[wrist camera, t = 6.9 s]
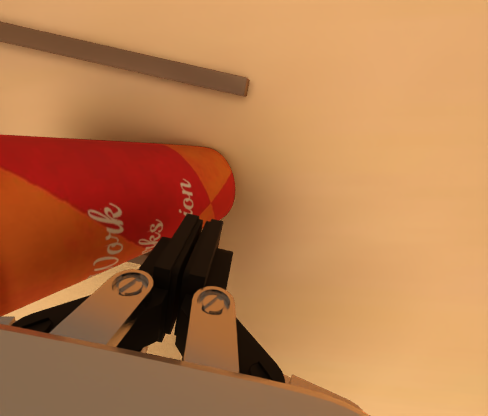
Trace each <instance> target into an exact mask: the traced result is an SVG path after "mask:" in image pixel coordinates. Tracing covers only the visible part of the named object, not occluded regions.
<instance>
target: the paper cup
mask: <svg viewBox="0 0 488 416" xmlns="http://www.w3.org/2000/svg"><path fill="white" fill-rule="evenodd" d="M234 197H235V182H234V177H233V173H232V170H231V168H230V166H229V164H228V162H227V161H226V160H225V158H224V157H223V156H222V155H221V154H220V153H219V152H217V151H215V150H213V149H211V148H207V147H199V146H187V145H173V144H157V143H140V142H123V141H105V140H87V139H69V138H51V137H33V136H15V135H0V317H1V316H3V315H5V314H8V313H10V312H12V311H14V310H17V309H19V308H21V307H24V306H26V305H28V304H30V303H33V302H35V301H37V300H40V299H42V298H44V297H47V296H49V295H51V294H53V293H56V292H58V291H60V290H63V289H65V288H67V287H69V286H72V285H74V284H76V283H79V282H81V281H83V280H85V279H88V278H90V277H92V276H95V275H97V274H99V273H101V272H104V271H106V270H108V269H111V268H113V267H115V266H118V265H120V264H122V263H124V262H127V261H129V260H131V259H134V258H136V257H138V256H140V255H143V254H145V253H147V252H150V251H152V250H153V248H154V247H155V245H156V244H157V243H158V241H159V240H160V238H161V237H168V238H172V237H173V235H174V233H175V232H176V230H177V229H178V227H179V226H180V224H181V222H182V221H183V219H184V218H185V216H186V214H187V213H188V214H193V215H197V216H199V219H201V220H203V225H202V228H203V227H204V225H205V223H206V221H211V219H215V220H220V219H222V218H223V217H224V216H226V215H227V214H228V212H229V211H230V209H231V207H232V205H233V202H234Z"/></svg>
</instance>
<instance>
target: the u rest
mask: <svg viewBox="0 0 488 416" xmlns="http://www.w3.org/2000/svg"><path fill="white" fill-rule="evenodd" d="M0 41H1V42H5V43H10V44H14V45H19V46H23V47H27V48H32V49H36V50H41V51H45V52H50V53H54V54H58V55H63V56H67V57H72V58H76V59H81V60H85V61H89V62H94V63H98V64H103V65H107V66H112V67H116V68H121V69H125V70H129V71H134V72H138V73H143V74H147V75H152V76H156V77H160V78H165V79H169V80H174V81H178V82H183V83H187V84H192V85H196V86H200V87H205V88H209V89H214V90H218V91H223V92H227V93H231V94H236V95H240V96H247V91H248V86H249V81H250V80H249V79H248V78H246V77H241V76H237V75H232V74H228V73H224V72H219V71H215V70H210V69H206V68H202V67H197V66H193V65H188V64H184V63H180V62H175V61H171V60H166V59H162V58H158V57H153V56H149V55H144V54H140V53H136V52H131V51H127V50H122V49H118V48H114V47H109V46H105V45H100V44H96V43H92V42H87V41H83V40H78V39H74V38H70V37H65V36H61V35H56V34H52V33H48V32H43V31H39V30H34V29H30V28H26V27H21V26H17V25H12V24H8V23H4V22H0ZM150 253H151V251H150V252H147V253H145V254H143V255H140V256H138V257H136V258H134V259H131V260H129V261H127V262H132V263H137V264H141V265H142V264H143V262H144V261H145V260H146V258H147V257H148V255H149V254H150Z"/></svg>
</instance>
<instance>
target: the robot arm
mask: <svg viewBox="0 0 488 416" xmlns="http://www.w3.org/2000/svg"><path fill="white" fill-rule="evenodd" d="M202 225H203V220H201V219H199V216H197V215H193V214H188V213H187V214H186V216H185V218H184V219H183V221H182V222H181V224H180V226H179V227H178V229H177V230H176V232H175V233H174V235H173V237H172V238H168V237H161V238H160V240H159V241H158V243H157V244H156V245H155V247H154V248H153V250H152V251H151V253H150V254H149V255H148V257H147V258H146V260H145V261H144V262H143V264H142V265H141V267H140V268H139V270H134V269H130V270H124V271H121V272H119V273H116V274H115V275H113V276H112V277H111V278H110V279H108V280H107V281H106V282H105V283H104V284H103V285H102V286H101V287H100V288H98V289H97V290H96V291H95V292H94V293H93V294H92V295H90V296H87V297H83V298H80V299H77V300H74V301H71V302H68V303H64V304H61V305H58V306H55V307H52V308H49V309H45V310H42V311H39V312H36V313H33V314H30V315H28V316H25V317H23V318H21V319H19V320H18V321H15V317H0V416H370V415H368V414H367V413H365V412H363V411H362V409H361V408H360V407H359V406H358V405H356V404H355V403H353V402H351V401H350V400H348V399H346V398H343V397H341V396H339V395H337V394H335V393H332V392H330V391H328V390H326V389H323V388H321V387H319V386H317V385H315V384H312V383H310V382H308V381H306V380H304V379H301V378H299V377H297V376H295V375H292V376H291V378H290V377H288V376H286V375H283V373H282V371H281V369H280V368H279V366H278V365H277V364H276V363H275V361H274V360H273V359H272V358H271V357H270V356H269V355H268V353H267V352H266V351H265V350H264V349H263V348H262V347H261V346H260V344H259V343H258V342H257V341H256V340H255V339H254V338H253V336H252V335H251V334H250V333H249V332H248V331H247V330H246V328H245V327H244V326H243V325H242V324H241V323H240V322H239V320H238V319H237V318H236V313H235V302H234V298H233V297H232V295H231V294H230V293H229V292H228V291H226V288H227V282H228V277H229V271H230V266H231V261H232V255H233V252H231V251H227V250H222V249H218V245H219V240H220V235H221V230H222V225H223V221H220V220H215V219H211V221H206V223H205V225H204V227H203V230H202ZM201 231H202V232H201ZM176 318H177V319H176ZM175 321H176V326H175V333H174V335H176V342H175V345H176V347H177V348H178V350H179V352H180V353H181V355H182V361H181V360H176V359H171V358H166V357H161V356H157V355H152V354H147V353H146V351H147V349H148V345H150V344H152V343H154V342H156V341H157V342H162V341H163V338H164V336H165V333H166V334H171V331H172V329H173V326H174V324H175Z"/></svg>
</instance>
